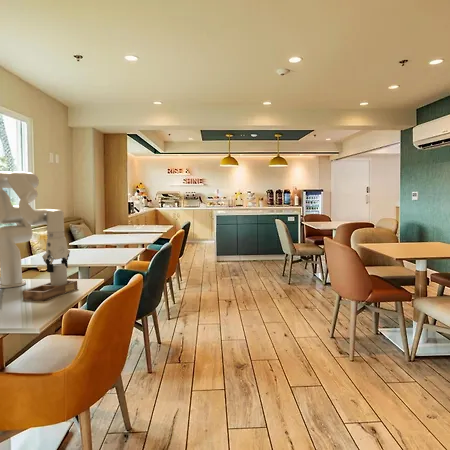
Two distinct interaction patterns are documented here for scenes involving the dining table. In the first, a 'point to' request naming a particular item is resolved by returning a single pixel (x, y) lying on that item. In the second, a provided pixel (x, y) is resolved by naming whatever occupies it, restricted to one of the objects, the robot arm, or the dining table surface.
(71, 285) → the tray
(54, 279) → the can
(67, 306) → the dining table surface
